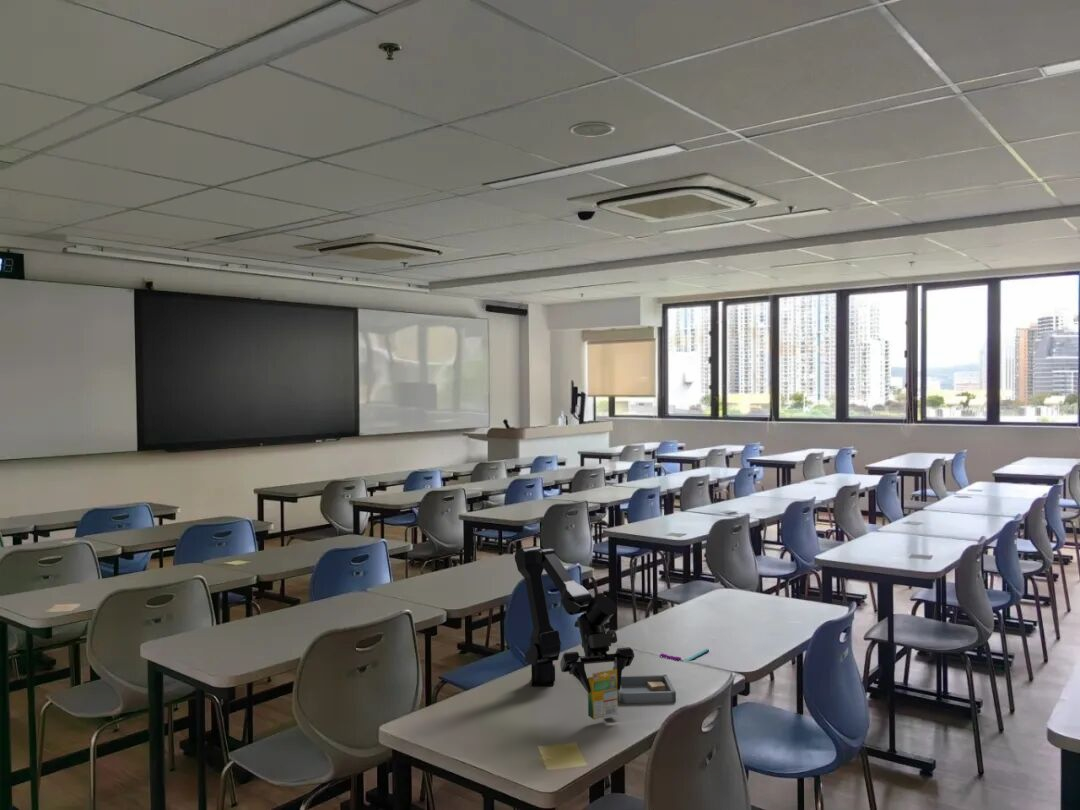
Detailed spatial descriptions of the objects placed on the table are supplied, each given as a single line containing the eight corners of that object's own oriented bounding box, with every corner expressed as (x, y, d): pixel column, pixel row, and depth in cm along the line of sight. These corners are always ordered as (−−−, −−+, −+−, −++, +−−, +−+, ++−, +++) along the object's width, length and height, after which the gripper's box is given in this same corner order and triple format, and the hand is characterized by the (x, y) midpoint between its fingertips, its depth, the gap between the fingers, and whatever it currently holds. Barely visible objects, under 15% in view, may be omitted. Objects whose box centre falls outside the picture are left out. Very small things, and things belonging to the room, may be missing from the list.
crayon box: (612, 710, 205) (612, 665, 205) (618, 714, 202) (617, 669, 202) (587, 715, 202) (587, 670, 201) (593, 719, 199) (592, 673, 199)
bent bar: (681, 642, 263) (708, 648, 257) (681, 648, 263) (709, 653, 257) (634, 667, 241) (662, 674, 235) (634, 673, 241) (662, 679, 235)
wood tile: (652, 691, 221) (652, 686, 221) (647, 686, 225) (647, 682, 225) (665, 689, 222) (665, 685, 222) (660, 685, 226) (660, 680, 226)
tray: (620, 705, 213) (619, 693, 213) (614, 686, 227) (614, 675, 227) (675, 703, 213) (675, 692, 213) (666, 685, 227) (666, 674, 227)
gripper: (562, 621, 203) (574, 679, 193) (631, 616, 207) (647, 672, 197) (555, 643, 211) (566, 699, 200) (622, 637, 215) (636, 692, 205)
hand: (604, 690), depth 200 cm, fingers closed on crayon box, 7 cm apart
